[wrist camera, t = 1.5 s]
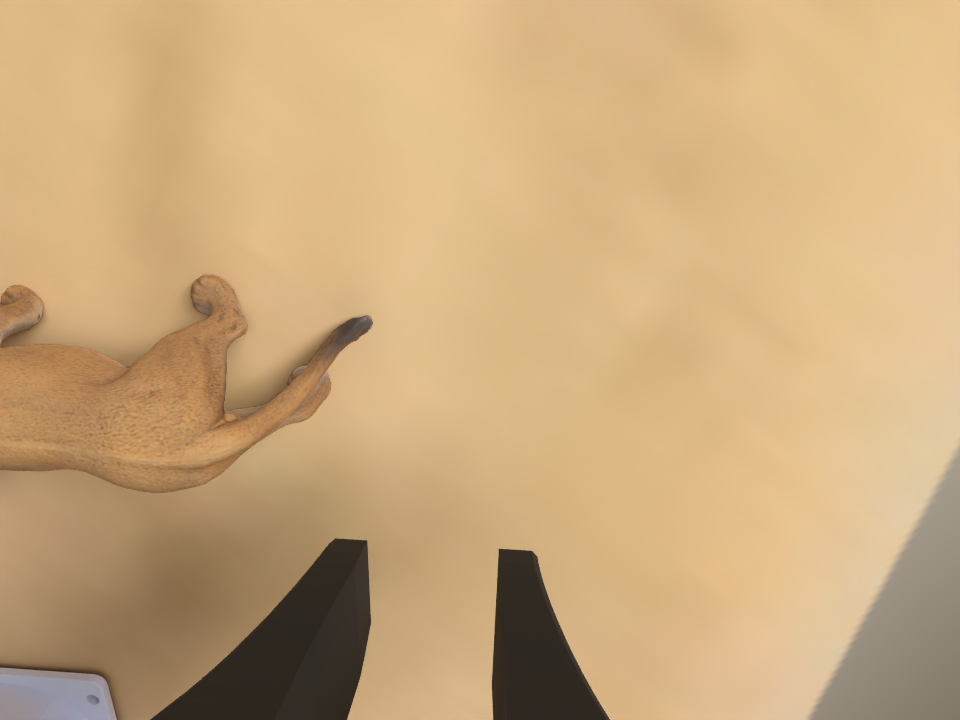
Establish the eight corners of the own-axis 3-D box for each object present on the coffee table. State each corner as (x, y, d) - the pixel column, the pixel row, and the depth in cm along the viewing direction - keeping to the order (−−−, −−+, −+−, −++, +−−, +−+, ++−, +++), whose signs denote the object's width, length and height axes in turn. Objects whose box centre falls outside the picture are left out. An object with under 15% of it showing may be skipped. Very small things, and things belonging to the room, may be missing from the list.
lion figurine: (-25, 443, 24) (-302, 652, 16) (-103, 297, 22) (-471, 452, 14) (394, 386, 22) (319, 589, 14) (352, 220, 20) (235, 347, 12)
